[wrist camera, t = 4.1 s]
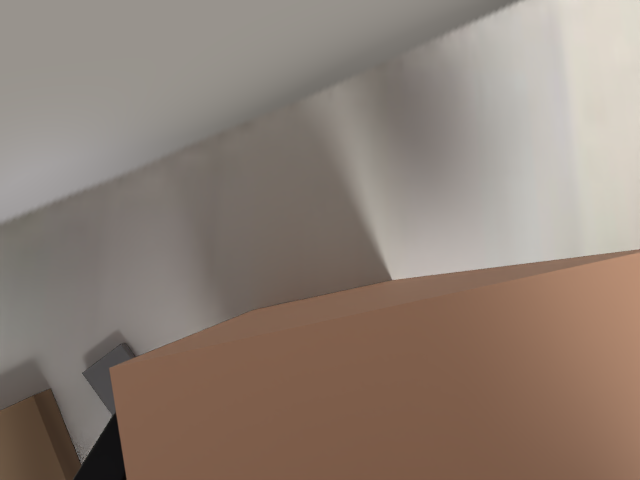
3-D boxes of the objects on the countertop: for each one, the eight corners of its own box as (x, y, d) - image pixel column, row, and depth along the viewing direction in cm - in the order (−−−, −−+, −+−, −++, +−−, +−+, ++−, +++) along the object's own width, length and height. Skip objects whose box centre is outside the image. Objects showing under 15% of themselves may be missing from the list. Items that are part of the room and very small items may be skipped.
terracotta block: (424, 423, 15) (854, 867, 4) (281, 456, 15) (221, 1080, 3) (392, 280, 16) (671, 245, 4) (253, 309, 16) (108, 368, 4)
